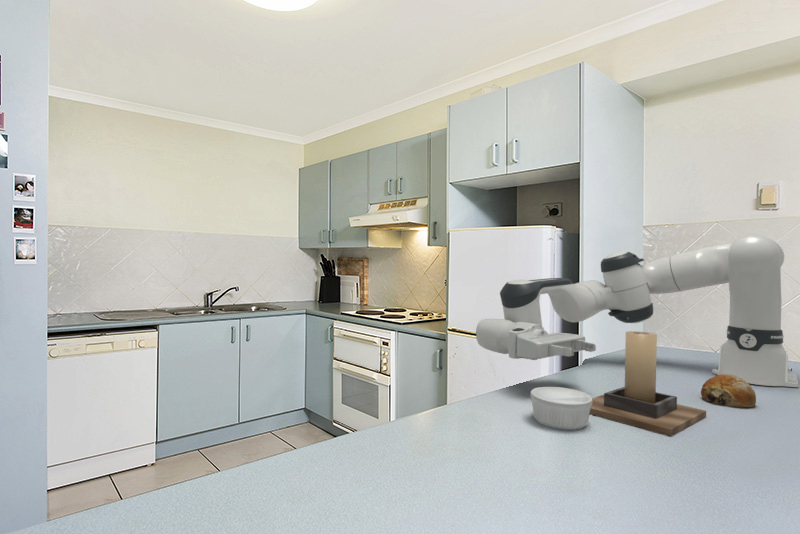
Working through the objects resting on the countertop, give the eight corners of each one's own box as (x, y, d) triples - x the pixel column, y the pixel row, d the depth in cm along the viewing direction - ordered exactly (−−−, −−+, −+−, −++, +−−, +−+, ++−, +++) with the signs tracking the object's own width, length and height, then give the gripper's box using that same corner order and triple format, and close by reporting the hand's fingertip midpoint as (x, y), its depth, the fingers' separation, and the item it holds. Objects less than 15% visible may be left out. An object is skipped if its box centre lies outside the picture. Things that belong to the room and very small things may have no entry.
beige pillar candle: (631, 401, 97) (632, 330, 97) (659, 408, 93) (661, 333, 93) (619, 406, 93) (620, 332, 93) (648, 413, 89) (649, 335, 89)
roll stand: (616, 395, 106) (616, 379, 106) (706, 416, 92) (706, 398, 92) (575, 409, 94) (575, 391, 94) (671, 436, 80) (671, 415, 80)
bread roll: (758, 426, 98) (775, 393, 98) (715, 404, 98) (732, 371, 98) (726, 411, 108) (742, 381, 107) (687, 391, 108) (702, 361, 108)
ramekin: (571, 437, 79) (572, 407, 79) (517, 419, 88) (518, 392, 88) (603, 424, 86) (604, 396, 86) (550, 409, 95) (551, 383, 95)
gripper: (553, 349, 120) (605, 358, 109) (504, 358, 106) (558, 370, 96) (554, 325, 119) (606, 332, 109) (505, 331, 106) (559, 340, 96)
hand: (583, 350), depth 102 cm, fingers open, 8 cm apart
